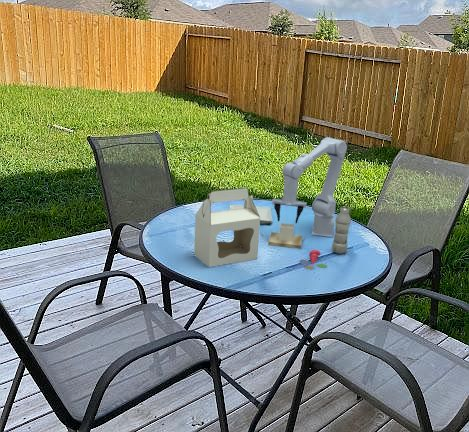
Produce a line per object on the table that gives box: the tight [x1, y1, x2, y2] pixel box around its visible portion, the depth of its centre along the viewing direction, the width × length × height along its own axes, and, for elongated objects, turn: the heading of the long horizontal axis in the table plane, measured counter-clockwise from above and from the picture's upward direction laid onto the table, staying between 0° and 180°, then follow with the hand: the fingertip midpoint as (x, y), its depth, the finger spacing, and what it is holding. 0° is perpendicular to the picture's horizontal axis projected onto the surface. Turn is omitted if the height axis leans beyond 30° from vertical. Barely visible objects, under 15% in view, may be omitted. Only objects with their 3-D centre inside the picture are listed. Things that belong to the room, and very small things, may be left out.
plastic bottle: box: [331, 205, 352, 255], centre depth 201 cm, size 6×7×20 cm
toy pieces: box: [299, 249, 328, 270], centre depth 191 cm, size 12×11×4 cm
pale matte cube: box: [278, 222, 295, 242], centre depth 211 cm, size 6×6×6 cm
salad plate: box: [229, 204, 273, 225], centre depth 240 cm, size 21×21×3 cm
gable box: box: [193, 187, 261, 268], centre depth 188 cm, size 22×13×28 cm, turn 119°
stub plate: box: [267, 231, 303, 250], centre depth 211 cm, size 14×12×5 cm
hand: (287, 221), depth 209 cm, fingers open, 7 cm apart
